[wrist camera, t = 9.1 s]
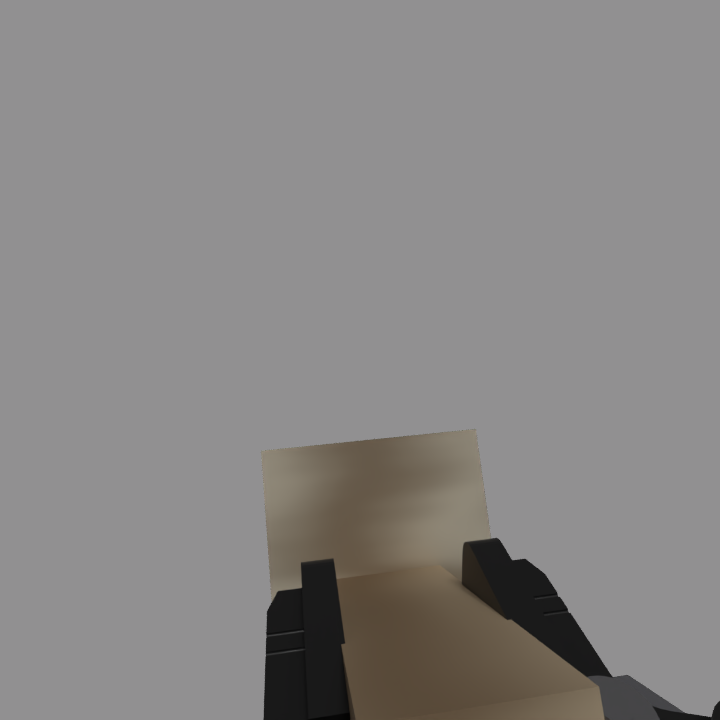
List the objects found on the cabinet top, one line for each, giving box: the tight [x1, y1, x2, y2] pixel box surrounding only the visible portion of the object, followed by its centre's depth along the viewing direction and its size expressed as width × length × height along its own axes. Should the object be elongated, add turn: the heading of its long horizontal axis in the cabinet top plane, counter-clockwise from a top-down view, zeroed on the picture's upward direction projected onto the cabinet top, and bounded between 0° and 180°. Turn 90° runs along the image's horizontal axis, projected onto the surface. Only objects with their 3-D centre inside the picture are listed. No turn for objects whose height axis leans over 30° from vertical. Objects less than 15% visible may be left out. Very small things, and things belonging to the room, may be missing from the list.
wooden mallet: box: [261, 429, 605, 720], centre depth 13 cm, size 6×14×6 cm, turn 6°
